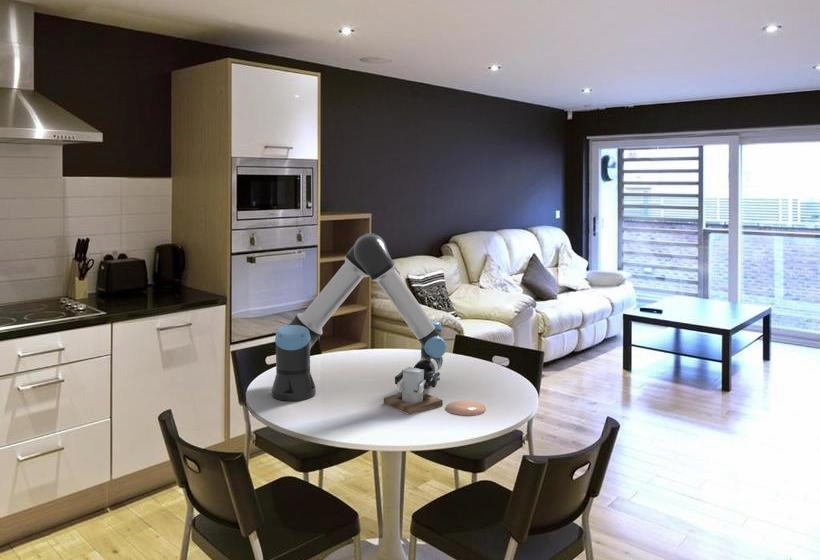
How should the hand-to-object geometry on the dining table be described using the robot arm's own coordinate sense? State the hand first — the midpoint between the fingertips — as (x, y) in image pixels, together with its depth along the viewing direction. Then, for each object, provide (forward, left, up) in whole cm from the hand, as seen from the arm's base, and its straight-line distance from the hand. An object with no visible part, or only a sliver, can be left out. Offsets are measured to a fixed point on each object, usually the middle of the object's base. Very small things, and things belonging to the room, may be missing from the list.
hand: (409, 388), depth 214 cm
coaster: (+11, +15, -7) cm, 20 cm away
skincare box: (-3, +4, -7) cm, 9 cm away
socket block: (-3, +4, -7) cm, 9 cm away
